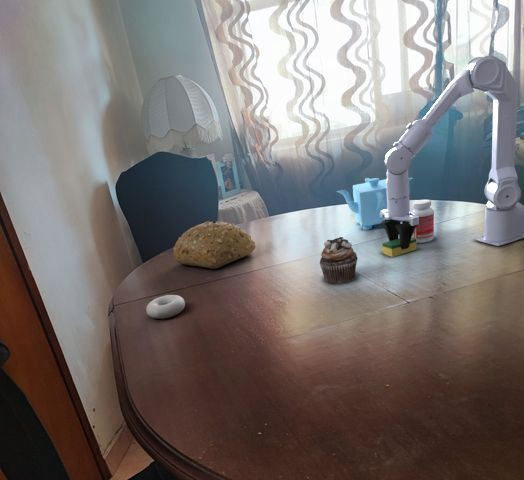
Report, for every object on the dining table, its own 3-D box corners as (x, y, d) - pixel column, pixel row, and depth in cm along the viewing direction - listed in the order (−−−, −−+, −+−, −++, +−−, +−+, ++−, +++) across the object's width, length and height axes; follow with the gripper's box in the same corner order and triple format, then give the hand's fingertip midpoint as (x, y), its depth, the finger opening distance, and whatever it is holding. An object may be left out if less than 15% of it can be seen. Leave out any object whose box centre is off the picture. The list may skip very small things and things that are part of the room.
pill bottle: (438, 238, 133) (438, 199, 128) (423, 244, 131) (423, 205, 126) (420, 235, 138) (420, 197, 133) (406, 241, 136) (405, 203, 130)
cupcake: (314, 278, 123) (310, 241, 118) (345, 268, 125) (342, 231, 120) (333, 288, 115) (329, 249, 110) (366, 276, 117) (363, 238, 112)
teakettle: (384, 234, 146) (382, 185, 139) (336, 230, 158) (332, 185, 151) (415, 216, 156) (415, 171, 149) (368, 214, 169) (366, 172, 162)
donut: (187, 302, 124) (150, 308, 124) (184, 290, 122) (147, 296, 122) (185, 317, 115) (145, 324, 115) (182, 304, 113) (141, 311, 113)
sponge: (406, 246, 132) (406, 235, 131) (416, 249, 129) (416, 238, 127) (382, 253, 130) (382, 243, 129) (392, 257, 127) (391, 246, 125)
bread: (168, 266, 154) (158, 231, 149) (215, 246, 167) (207, 212, 161) (216, 275, 139) (207, 236, 133) (264, 251, 151) (257, 214, 145)
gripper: (369, 197, 127) (372, 244, 134) (402, 203, 115) (403, 256, 122) (391, 191, 129) (393, 238, 136) (425, 197, 117) (425, 249, 123)
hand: (399, 246), depth 129 cm, fingers closed on sponge, 4 cm apart
